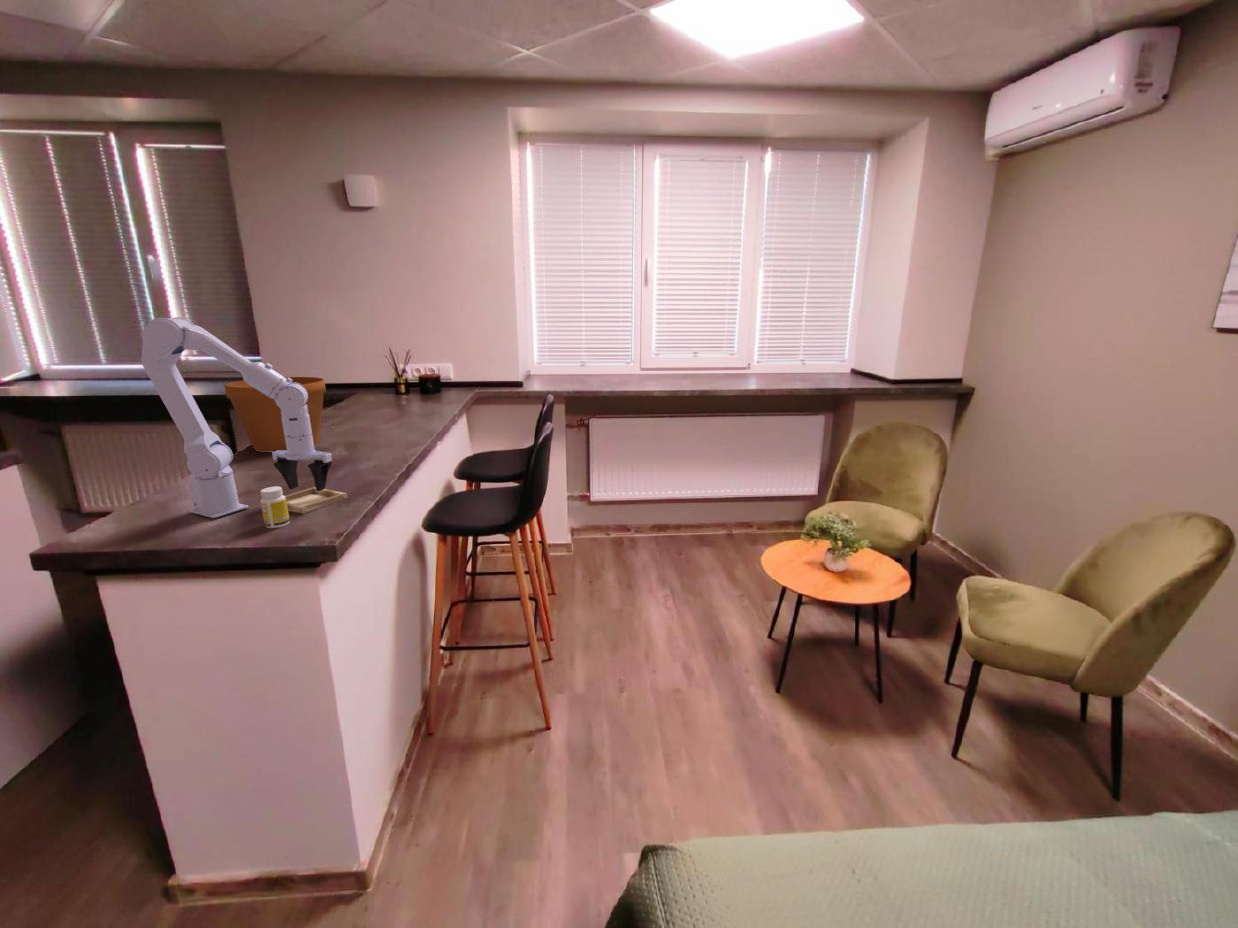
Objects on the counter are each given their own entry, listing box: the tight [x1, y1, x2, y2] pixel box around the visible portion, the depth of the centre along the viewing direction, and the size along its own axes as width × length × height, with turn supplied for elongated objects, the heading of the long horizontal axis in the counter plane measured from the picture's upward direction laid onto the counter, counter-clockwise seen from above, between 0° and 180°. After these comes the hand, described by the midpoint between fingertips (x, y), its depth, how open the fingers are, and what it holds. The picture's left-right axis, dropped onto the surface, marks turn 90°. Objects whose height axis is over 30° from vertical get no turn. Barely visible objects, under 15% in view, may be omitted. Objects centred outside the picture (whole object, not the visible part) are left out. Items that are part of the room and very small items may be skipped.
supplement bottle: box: [260, 485, 291, 529], centre depth 119 cm, size 5×5×8 cm
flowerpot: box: [224, 376, 327, 451], centre depth 180 cm, size 28×28×24 cm
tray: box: [284, 486, 348, 516], centre depth 133 cm, size 12×12×2 cm
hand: (307, 488), depth 132 cm, fingers open, 7 cm apart
